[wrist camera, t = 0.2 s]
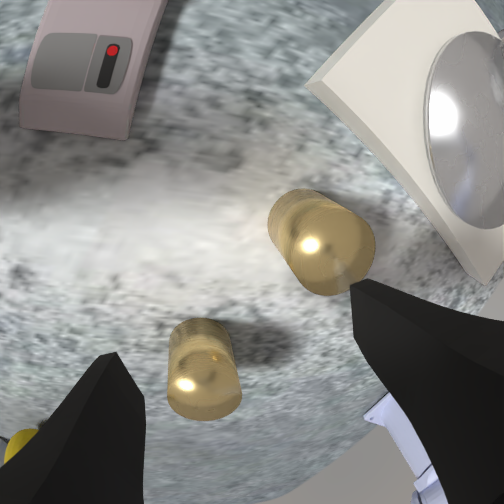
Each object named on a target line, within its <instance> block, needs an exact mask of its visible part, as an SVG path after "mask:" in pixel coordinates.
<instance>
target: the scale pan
mask: <svg viewBox="0 0 504 504" xmlns="http://www.w3.org/2000/svg"><path fill="white" fill-rule="evenodd" d="M423 131H424V142H425V148H426V155H427V159H428V163H429V167H430V171H431V174H432V177H433V180H434V183H435V185H436V187H437V189H438V192H439V194H440V196H441V197H442V199H443V201H444V202H445V204H446V205H447V207H448V208H449V209H450V210H451V212H452V213H453V214H454V215H456V216H457V217H458V218H459V219H460V220H462V221H464V222H465V223H467V224H469V225H471V226H474V227H476V228H479V229H494V228H497V227H500V226H502V225H504V42H502V41H501V40H500V39H498V38H497V37H495V36H493V35H491V34H488V33H485V32H479V31H472V32H465V33H461V34H458V35H455V36H453V37H452V38H450V39H449V40H448V41H446V43H445V44H444V45H443V46H442V47H441V48H440V50H439V51H438V53H437V54H436V56H435V58H434V60H433V62H432V65H431V67H430V70H429V73H428V77H427V80H426V86H425V92H424V102H423Z"/></svg>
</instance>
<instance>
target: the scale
mask: <svg viewBox="0 0 504 504" xmlns="http://www.w3.org/2000/svg"><path fill="white" fill-rule="evenodd" d="M472 31H479V32H485V33H488V34H491V35H493V36H495V37H497V38H498V39H500V40H501V41H502V42H504V29H503V30H501V31H500V32H498V33H496V31H495V29H494V28H493V26H492V25H491V23H490V22H489V20H488V19H487V17H486V16H485V14H484V13H483V11H482V10H481V9H480V7H479V6H478V4H477V3H476V2H475V0H385V1H384V2H383V3H382V4H380V5H379V6H378V7H377V8H376V9H375V10H374V11H373V12H372V13H371V14H370V15H369V16H368V17H367V18H366V19H365V21H364V22H363V23H362V24H361V25H360V26H359V27H358V28H357V29H356V30H355V31H354V32H353V33H352V34H351V35H350V36H349V37H348V38H347V39H346V40H345V41H344V42H343V43H342V44H341V45H340V47H339V48H338V49H337V50H336V51H335V52H334V53H333V54H332V55H331V56H330V57H329V58H328V59H327V60H326V62H325V63H324V64H323V65H322V66H321V67H320V68H319V69H318V70H317V71H316V73H315V74H314V75H313V76H312V77H311V78H310V79H309V80H308V81H307V83H306V84H305V85H304V86H305V87H306V88H307V89H308V90H309V91H310V92H312V93H313V94H314V95H315V96H316V97H317V98H318V99H319V100H320V101H321V102H322V103H323V104H325V105H326V106H327V107H328V108H329V109H330V110H331V111H332V112H333V113H334V114H335V115H336V116H337V117H338V118H339V119H340V120H341V121H342V122H343V123H344V124H345V125H346V126H347V127H348V128H349V129H350V130H351V131H352V132H353V133H354V134H355V135H356V136H357V137H358V138H359V139H360V140H361V141H362V142H363V143H364V144H365V145H366V147H367V148H368V149H369V150H370V151H371V152H372V153H373V154H374V155H375V156H376V157H377V158H378V160H379V161H380V162H381V163H382V164H383V165H384V166H385V167H386V169H387V170H388V171H389V172H390V173H391V174H392V175H393V177H394V178H395V179H396V180H397V181H398V182H399V184H400V185H401V186H402V187H403V188H404V190H405V191H406V192H407V193H408V194H409V196H410V197H411V198H412V199H413V200H414V202H415V203H416V204H417V205H418V207H419V208H420V209H421V211H422V212H423V213H424V214H425V216H426V217H427V218H428V220H429V221H430V222H431V224H432V225H433V226H434V228H435V229H436V230H437V232H438V233H439V234H440V236H441V237H442V238H443V240H444V241H445V243H446V244H447V245H448V247H449V248H450V250H451V251H452V252H453V254H454V255H455V257H456V258H457V260H458V261H459V263H460V264H461V266H462V267H463V269H464V270H465V272H466V273H467V274H468V275H470V276H471V277H473V278H474V279H476V280H477V281H478V282H480V283H481V284H483V285H484V286H486V285H487V284H488V283H489V281H490V280H491V278H492V277H493V275H494V274H495V273H496V271H497V270H498V268H499V267H500V265H501V264H502V262H503V261H504V225H502V226H500V227H497V228H494V229H479V228H476V227H474V226H471V225H469V224H467V223H465V222H464V221H462V220H460V219H459V218H458V217H457V216H456V215H454V214H453V213H452V212H451V210H450V209H449V208H448V207H447V205H446V204H445V202H444V201H443V199H442V197H441V196H440V194H439V192H438V189H437V187H436V185H435V183H434V180H433V177H432V174H431V171H430V167H429V163H428V159H427V155H426V148H425V142H424V131H423V102H424V92H425V86H426V80H427V77H428V73H429V70H430V67H431V65H432V62H433V60H434V58H435V56H436V54H437V53H438V51H439V50H440V48H441V47H442V46H443V45H444V44H445V43H446V41H448V40H449V39H450V38H452V37H453V36H455V35H458V34H461V33H465V32H472Z"/></svg>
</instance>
